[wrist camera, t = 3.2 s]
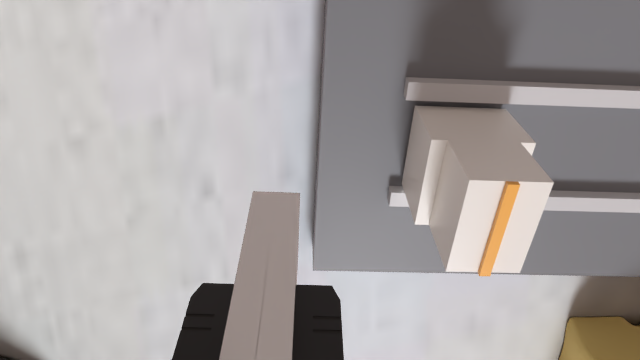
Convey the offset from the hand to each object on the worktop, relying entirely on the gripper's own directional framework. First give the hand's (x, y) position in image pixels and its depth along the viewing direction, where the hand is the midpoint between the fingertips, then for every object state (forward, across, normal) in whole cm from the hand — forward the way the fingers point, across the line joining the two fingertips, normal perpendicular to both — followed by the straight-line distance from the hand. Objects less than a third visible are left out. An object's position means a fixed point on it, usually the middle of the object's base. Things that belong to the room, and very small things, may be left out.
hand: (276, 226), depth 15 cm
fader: (+6, +8, 0) cm, 10 cm away
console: (+9, +16, 0) cm, 18 cm away
